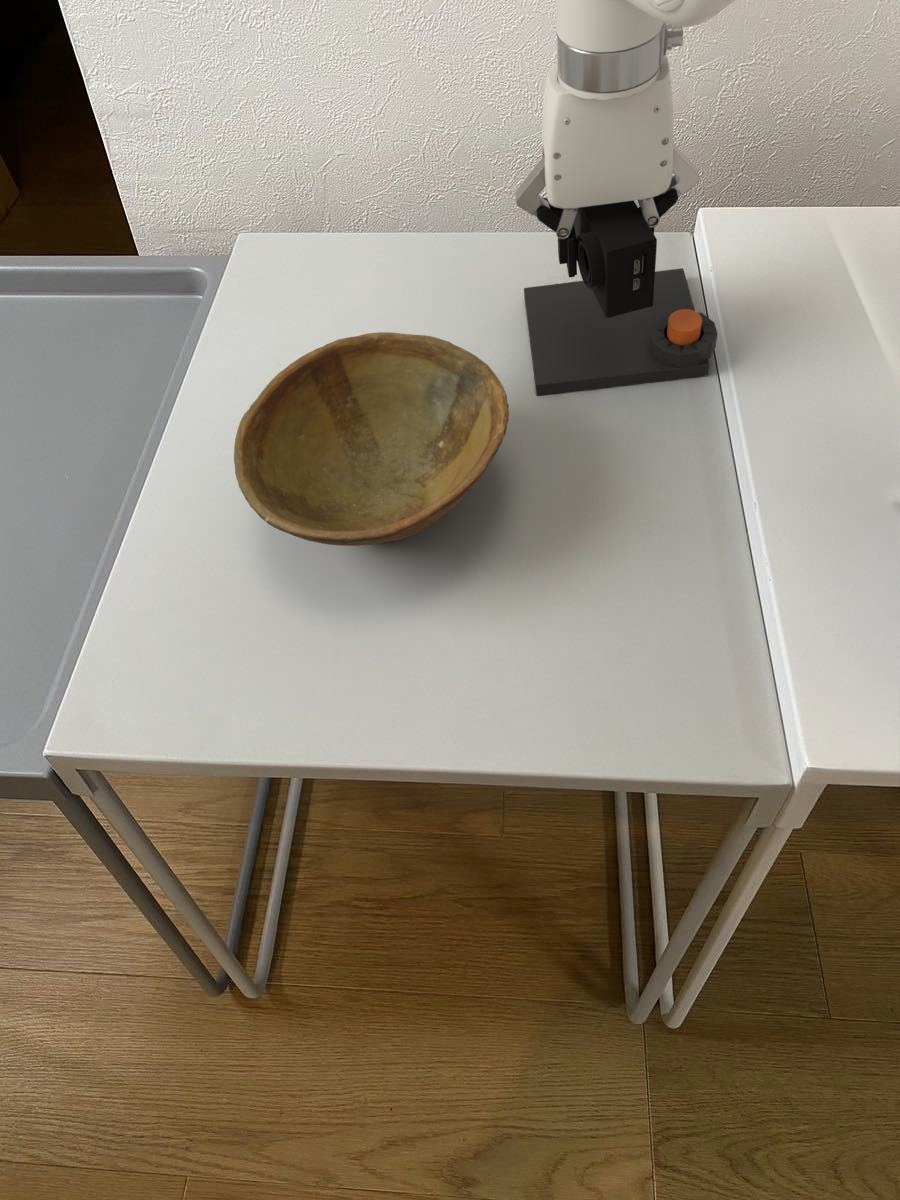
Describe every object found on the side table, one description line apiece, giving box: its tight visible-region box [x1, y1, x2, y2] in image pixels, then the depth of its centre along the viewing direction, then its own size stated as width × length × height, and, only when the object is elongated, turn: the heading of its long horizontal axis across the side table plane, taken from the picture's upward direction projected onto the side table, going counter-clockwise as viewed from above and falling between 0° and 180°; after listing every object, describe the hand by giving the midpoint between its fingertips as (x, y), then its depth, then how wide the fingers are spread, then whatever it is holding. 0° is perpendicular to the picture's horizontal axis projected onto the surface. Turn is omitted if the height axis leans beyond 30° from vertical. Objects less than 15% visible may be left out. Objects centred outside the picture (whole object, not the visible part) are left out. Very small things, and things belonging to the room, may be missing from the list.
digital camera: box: [574, 200, 658, 318], centre depth 81 cm, size 10×5×7 cm, turn 13°
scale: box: [523, 267, 719, 396], centre depth 90 cm, size 17×14×3 cm
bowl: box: [233, 331, 510, 547], centre depth 79 cm, size 22×23×10 cm
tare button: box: [667, 309, 702, 346], centre depth 85 cm, size 3×3×2 cm
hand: (604, 261), depth 83 cm, fingers closed on digital camera, 5 cm apart
